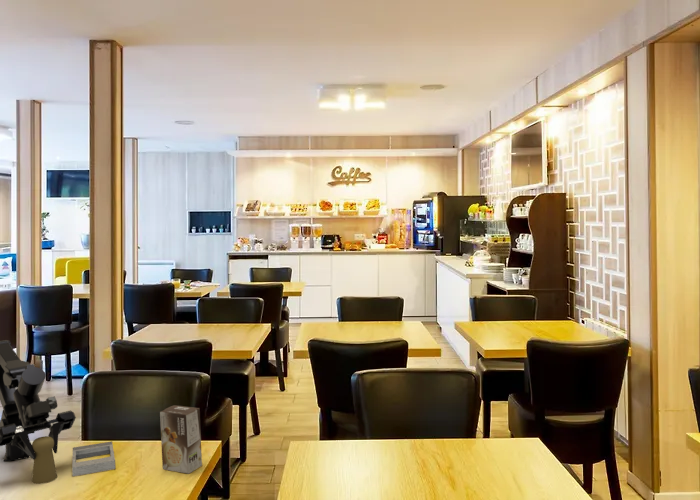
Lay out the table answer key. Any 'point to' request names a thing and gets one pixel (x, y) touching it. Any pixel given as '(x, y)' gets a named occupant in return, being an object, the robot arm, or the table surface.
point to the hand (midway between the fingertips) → (45, 455)
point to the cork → (43, 460)
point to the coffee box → (181, 438)
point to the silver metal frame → (95, 464)
